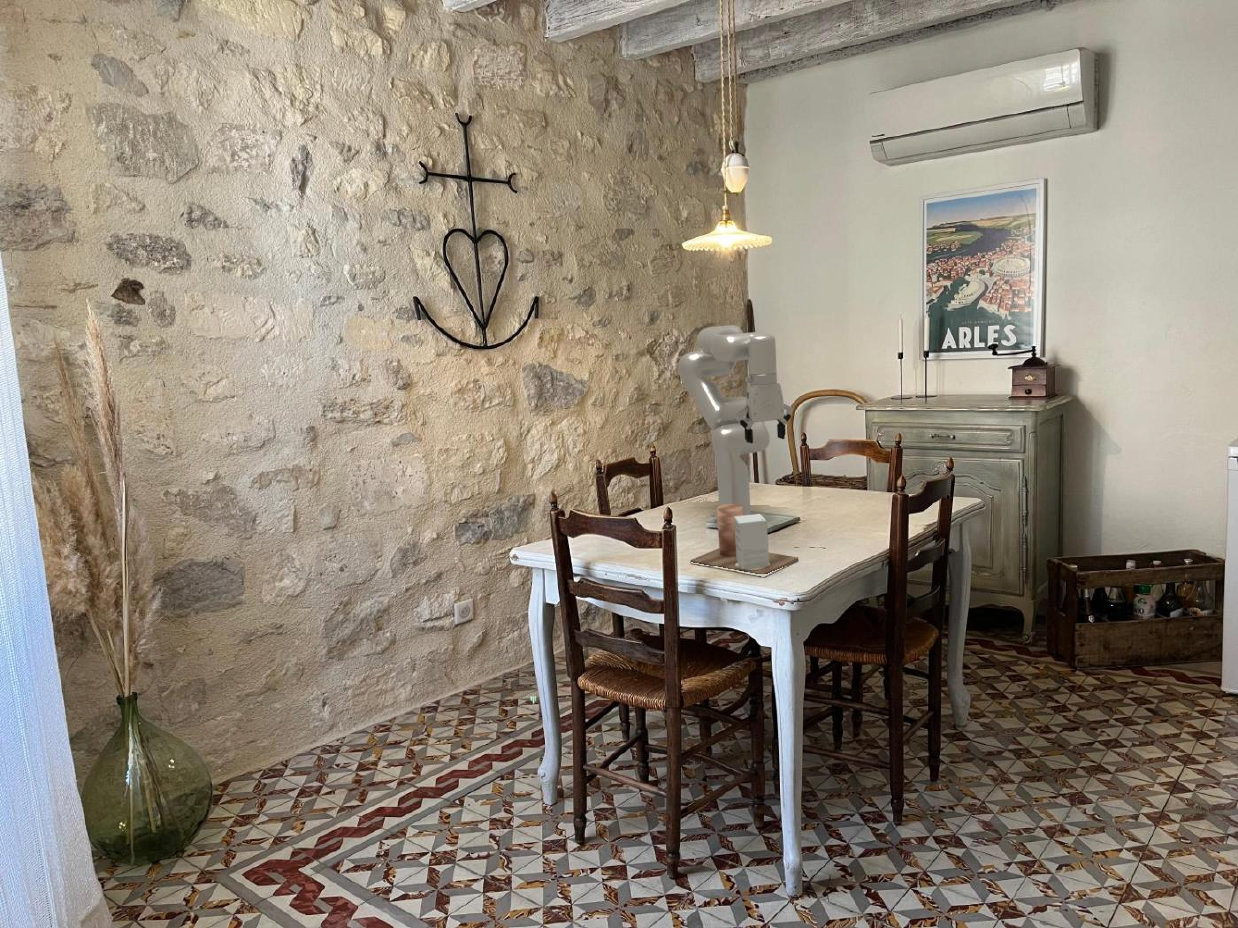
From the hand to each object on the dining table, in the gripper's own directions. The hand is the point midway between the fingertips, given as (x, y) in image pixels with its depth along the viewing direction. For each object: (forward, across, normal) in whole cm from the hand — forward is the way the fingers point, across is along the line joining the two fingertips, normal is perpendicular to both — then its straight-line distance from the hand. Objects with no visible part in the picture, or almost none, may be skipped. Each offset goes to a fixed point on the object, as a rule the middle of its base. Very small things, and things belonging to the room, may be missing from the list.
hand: (765, 440), depth 263 cm
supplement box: (+29, -14, -19) cm, 37 cm away
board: (+30, -14, -13) cm, 35 cm away
